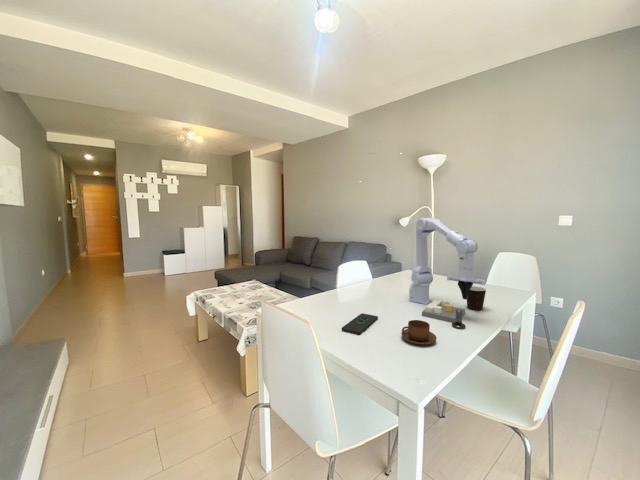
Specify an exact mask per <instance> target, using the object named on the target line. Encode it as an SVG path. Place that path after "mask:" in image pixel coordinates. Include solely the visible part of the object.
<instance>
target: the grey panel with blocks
mask: <svg viewBox="0 0 640 480" xmlns="http://www.w3.org/2000/svg"><path fill="white" fill-rule="evenodd" d="M445 304H448V305H450V301H449V300H444V299H442V300H439V299H435V300H433V301H432V302H429V303H428V305H427V304H426V306H425V307H424V309H423V310H422V311H421V316H422V317H426V318H430V319H435V320H439V321H442V322H443V321H444V322H448V323H451V324H452V323H455V320H456V309H461V310H463V311H462V317H463V316H464V315H465V314H466V308H462V307H457V306H453V311H452V312H448V311H444V305H445Z"/></svg>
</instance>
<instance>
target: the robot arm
mask: <svg viewBox="0 0 640 480" xmlns="http://www.w3.org/2000/svg"><path fill="white" fill-rule="evenodd" d="M435 231H436V232H438V233H440V234H441V235H443V236H444V237H445V239H446V241H447V242H448V243H450V244H451V245H452V246H453V247H455V249H456V251H457V256H458V271H457V273H458V275H450V274H449V275H447V276H446V281H448V282H449V281H454V282H457V286H458V288H459V290H460V292H461V298H462V299H463V300H467V297H468V293H469V291H470V289H471V287H472V286H473V285H474V284H475V285H481V286H485V285H486V279H481V278H477V277H474V272H475V271H474V269H475V268H474V267H475V265H474V264H475V253H476V252H478V248H479V246H478V243H477V241H476V240H475V239H468V237H467V236H464V235H462V234H461V233H460V231H459V230H451V229H450V228H448V227H447V226H446V225H445V224H444V223H442V221H441V219H438V217H420V218H418V219H417V221H416V222H415V247H416V252H415V253H416V267H414V268H413V269H412V273H411V276H410V278H411V282H412V283H411V284H410V285H409V291H408V292H409V293H408V295H409V296H408V298H409V299H408V302H413V303H418V304H424V305H427V304H428V305H429V304H430V303H431V301H432V299H430V286H431V284H432V282H433V280H434V276H433V272H432V268H430V267H429V265H428V262H429V261H428V260H429V259H428V236H430V234H432V233H433V232H435ZM432 302H433V301H432Z"/></svg>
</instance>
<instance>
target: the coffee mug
mask: <svg viewBox="0 0 640 480" xmlns="http://www.w3.org/2000/svg"><path fill="white" fill-rule="evenodd" d="M486 292H487V288H484V287H481V286H476V285H475V286H473V285H472V287H471V289H470V291H469V293H468V297H467V299H466V306H467V307H466V309H468V310H469V311H473V310H474V312H481V310H482V311H483V309H484V308H483V307H484V303H485V297H486Z"/></svg>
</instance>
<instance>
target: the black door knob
mask: <svg viewBox="0 0 640 480" xmlns="http://www.w3.org/2000/svg"><path fill="white" fill-rule="evenodd" d="M462 311H463V310H461V309H456V320H455V323H451V328H454V329H457V330H465V329H466V324H464V323H463V316H462Z"/></svg>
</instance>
